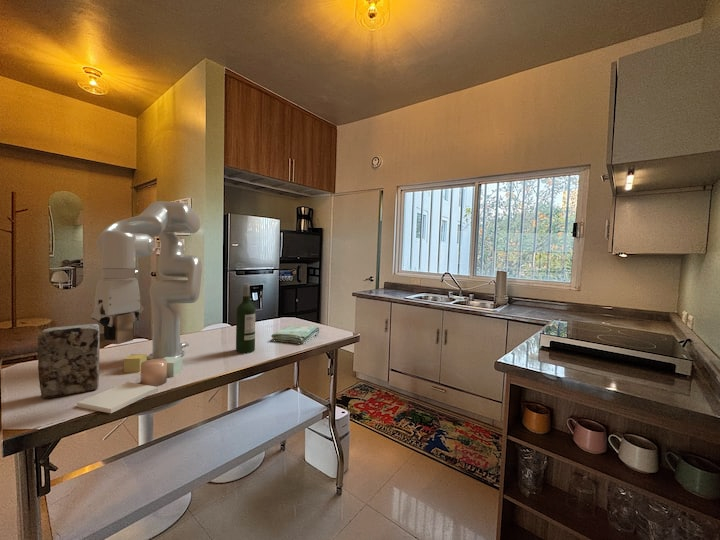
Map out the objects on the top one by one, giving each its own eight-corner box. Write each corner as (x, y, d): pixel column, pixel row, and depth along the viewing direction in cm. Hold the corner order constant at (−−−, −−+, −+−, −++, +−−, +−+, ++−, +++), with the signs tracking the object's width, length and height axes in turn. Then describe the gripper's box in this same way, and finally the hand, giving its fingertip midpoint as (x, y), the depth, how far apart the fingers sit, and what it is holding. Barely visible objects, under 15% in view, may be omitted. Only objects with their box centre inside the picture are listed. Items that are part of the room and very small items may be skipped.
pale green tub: (166, 370, 109) (166, 356, 109) (182, 370, 110) (182, 357, 109) (155, 376, 103) (155, 362, 103) (173, 377, 104) (173, 362, 103)
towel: (269, 342, 149) (269, 332, 148) (289, 332, 169) (290, 323, 169) (303, 346, 144) (303, 335, 144) (319, 335, 165) (320, 325, 165)
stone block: (100, 382, 97) (99, 321, 96) (100, 390, 92) (99, 326, 91) (40, 394, 88) (39, 327, 88) (37, 403, 83) (36, 332, 82)
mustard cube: (131, 367, 111) (131, 354, 111) (146, 367, 112) (146, 353, 112) (123, 372, 106) (123, 358, 106) (139, 372, 107) (139, 358, 107)
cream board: (127, 385, 96) (127, 381, 96) (157, 390, 93) (157, 386, 93) (77, 406, 82) (77, 402, 82) (111, 413, 79) (110, 408, 79)
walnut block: (121, 338, 89) (121, 312, 89) (133, 340, 88) (133, 313, 88) (105, 342, 85) (104, 314, 85) (117, 344, 84) (117, 316, 84)
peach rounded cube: (154, 377, 102) (154, 357, 102) (171, 380, 101) (171, 359, 101) (135, 386, 96) (135, 364, 95) (152, 389, 94) (152, 367, 94)
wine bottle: (250, 354, 129) (251, 285, 128) (232, 353, 130) (233, 284, 128) (257, 348, 137) (258, 283, 136) (240, 347, 137) (241, 282, 136)
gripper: (136, 272, 95) (136, 329, 96) (75, 275, 79) (75, 344, 79) (156, 273, 93) (156, 331, 94) (97, 276, 77) (97, 347, 77)
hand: (119, 336), depth 87 cm, fingers closed on walnut block, 4 cm apart
